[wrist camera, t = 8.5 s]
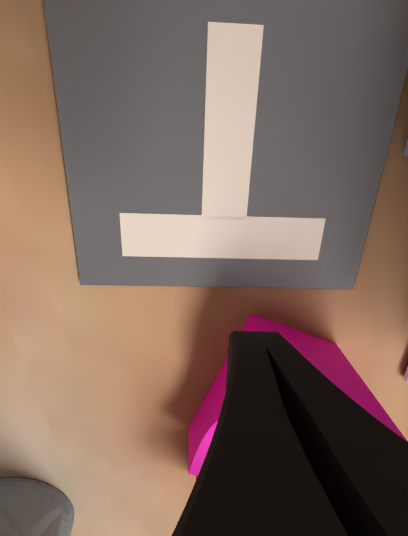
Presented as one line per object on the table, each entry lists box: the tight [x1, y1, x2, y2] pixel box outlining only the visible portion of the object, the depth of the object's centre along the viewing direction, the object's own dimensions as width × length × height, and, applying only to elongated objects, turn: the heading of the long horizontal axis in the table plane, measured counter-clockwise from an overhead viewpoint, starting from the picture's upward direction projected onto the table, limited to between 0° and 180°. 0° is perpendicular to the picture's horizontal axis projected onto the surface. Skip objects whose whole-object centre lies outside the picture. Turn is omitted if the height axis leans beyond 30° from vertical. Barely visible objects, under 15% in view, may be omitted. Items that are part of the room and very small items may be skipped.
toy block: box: [189, 314, 407, 480], centre depth 18 cm, size 15×6×8 cm, turn 157°
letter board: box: [43, 0, 408, 289], centre depth 15 cm, size 16×14×1 cm
